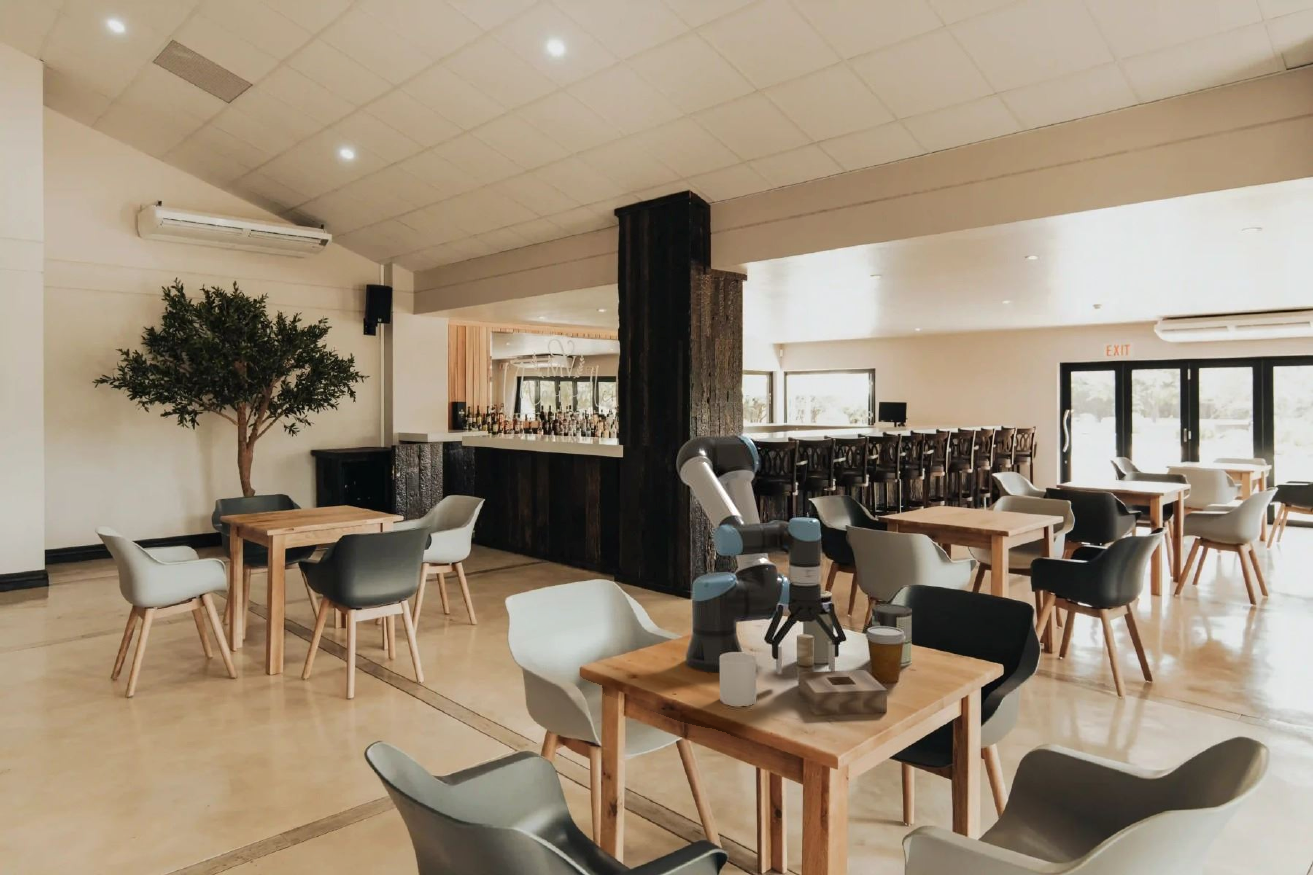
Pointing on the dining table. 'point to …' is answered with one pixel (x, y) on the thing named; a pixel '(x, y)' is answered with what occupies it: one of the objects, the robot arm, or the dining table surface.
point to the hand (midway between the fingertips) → (805, 671)
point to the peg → (805, 653)
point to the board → (842, 692)
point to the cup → (738, 678)
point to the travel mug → (820, 632)
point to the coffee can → (895, 624)
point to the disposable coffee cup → (885, 652)
